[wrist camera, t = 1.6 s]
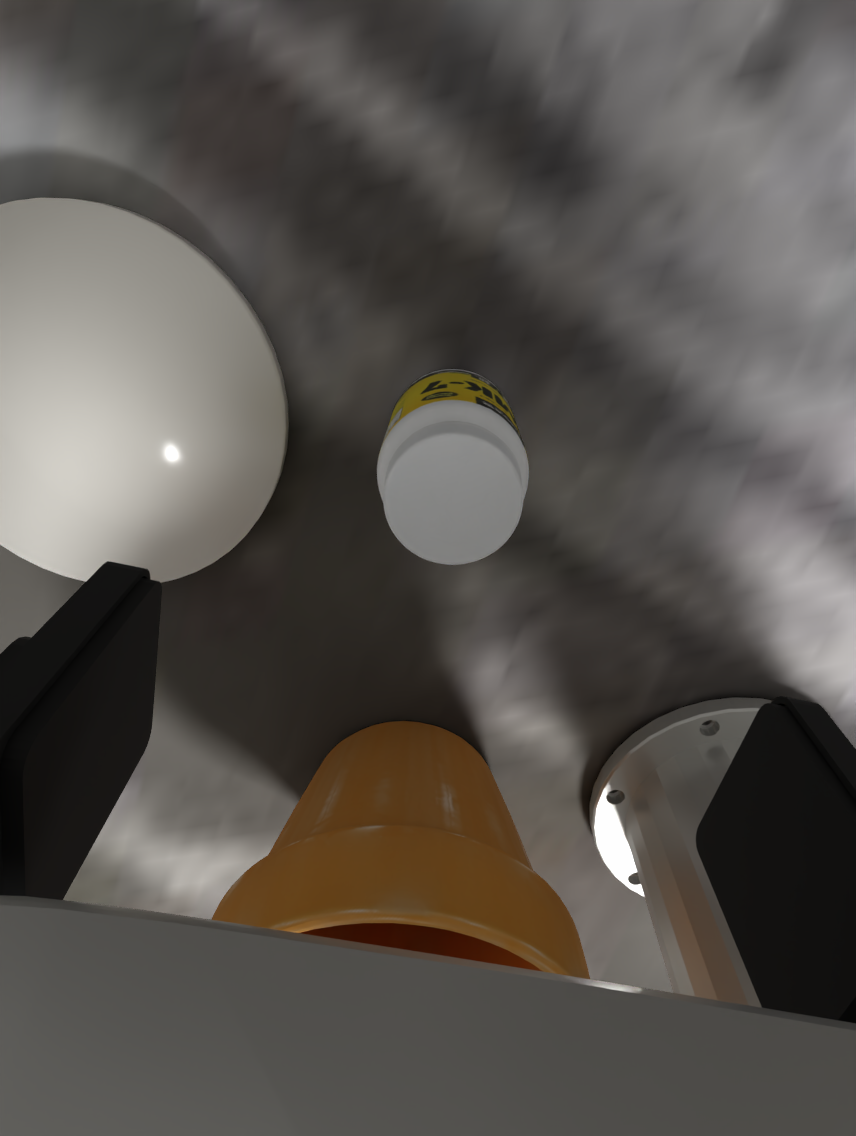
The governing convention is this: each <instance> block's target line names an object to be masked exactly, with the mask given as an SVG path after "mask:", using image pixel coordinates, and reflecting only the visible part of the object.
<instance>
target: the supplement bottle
mask: <svg viewBox="0 0 856 1136" xmlns="http://www.w3.org/2000/svg"><path fill="white" fill-rule="evenodd" d="M528 480H529V464H528V458H527V453H526V450H525V447H524V444H523V441H522V439H521V436H520V433H519V430H518V427H517V424H516V422H515V419H514V415H513V413H512V410H511V408H510V406H509V404H508V402H507V400H506V398H505V397H504V395H503V394H502V393H501V391H500V390H499V389H498V388H497V387H496V386H495V385H494V384H493V383H492V382H490V381H489V380H487V379H486V378H484V377H482V376H481V375H478V374H476V373H473V372H470V371H465V370H459V369H445V370H439V371H434V372H431V373H429V374H426V375H424V376H422V377H421V378H419V379H418V380H416V381H415V382H413V383H412V384H411V385H410V386H409V387H408V388H407V389H406V390H405V391H404V392H403V394H402V395H401V396H400V398H399V400H398V401H397V403H396V405H395V407H394V410H393V413H392V416H391V419H390V422H389V425H388V428H387V431H386V434H385V437H384V440H383V444H382V446H381V450H380V453H379V457H378V463H377V481H378V488H379V492H380V495H381V498H382V501H383V504H384V511H385V516H386V519H387V522H388V524H389V526H390V528H391V530H392V532H393V533H394V535H395V536H396V538H397V539H398V540H399V541H400V542H401V543H402V544H403V545H404V546H405V547H406V548H407V549H408V550H410V551H411V552H412V553H414V554H416V555H417V556H419V557H421V558H423V559H425V560H428V561H431V562H435V563H439V564H446V565H460V564H467V563H471V562H475V561H478V560H480V559H483V558H485V557H487V556H489V555H490V554H492V553H494V552H495V551H497V550H498V549H499V548H500V547H501V546H502V545H504V543H505V542H506V541H507V540H508V539H509V538H510V536H511V535H512V534H513V532H514V530H515V528H516V527H517V525H518V522H519V520H520V517H521V513H522V508H523V500H524V498H525V495H526V491H527V487H528Z"/></svg>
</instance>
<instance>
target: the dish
mask: <svg viewBox="0 0 856 1136" xmlns="http://www.w3.org/2000/svg"><path fill="white" fill-rule="evenodd" d="M288 431H289V417H288V400H287V395H286V390H285V384H284V379H283V375H282V372H281V368H280V365H279V362H278V359H277V356H276V353H275V350H274V348H273V346H272V343H271V341H270V339H269V337H268V335H267V332H266V330H265V328H264V326H263V324H262V323H261V321H260V319H259V318H258V316H257V314H256V313H255V311H254V310H253V308H252V306H251V305H250V303H249V302H248V300H247V299H246V298H245V296H244V295H243V294H242V293H241V291H240V290H239V289H238V287H237V286H236V285H235V284H234V282H233V281H232V280H231V279H230V278H229V277H228V276H227V275H226V274H225V273H224V272H223V271H222V270H221V269H220V268H219V267H218V266H217V265H216V264H215V263H214V262H213V260H212V259H210V258H209V257H208V256H207V255H205V254H204V253H203V252H202V251H200V250H199V249H198V248H197V247H195V246H194V245H193V244H192V243H190V242H189V241H188V240H186V239H185V238H183V237H181V236H180V235H178V234H177V233H175V232H173V231H172V230H170V229H169V228H167V227H165V226H164V225H162V224H160V223H158V222H155V221H153V220H151V219H149V218H147V217H145V216H142V215H140V214H138V213H135V212H132V211H129V210H126V209H123V208H120V207H116V206H113V205H110V204H105V203H99V202H93V201H87V200H81V199H69V198H32V199H24V200H16V201H11V202H7V203H4V204H0V545H2V546H3V547H5V548H6V549H8V550H10V551H11V552H13V553H14V554H16V555H17V556H19V557H21V558H23V559H25V560H27V561H29V562H31V563H33V564H35V565H37V566H39V567H41V568H44V569H47V570H49V571H52V572H54V573H57V574H60V575H62V576H66V577H70V578H73V579H77V580H81V581H85V582H86V581H87V580H88V579H89V578H90V577H91V576H92V575H93V574H94V573H95V572H96V571H97V570H98V569H99V568H100V567H101V566H102V565H103V564H104V563H105V562H107V561H111V562H116V563H121V564H125V565H130V566H135V567H140V568H145V569H148V570H149V572H150V580H155V581H160V583H161V582H166V581H171V580H175V579H178V578H181V577H184V576H186V575H189V574H192V573H195V572H197V571H199V570H201V569H203V568H204V567H206V566H208V565H210V564H212V563H214V562H215V561H217V560H218V559H219V558H221V557H222V556H224V555H225V554H226V553H228V552H229V551H231V550H232V549H233V548H234V547H235V546H236V545H237V544H238V543H239V542H240V541H241V540H242V539H243V538H244V537H245V536H246V535H247V534H248V532H249V531H250V530H251V528H252V527H253V526H254V524H255V523H256V522H257V520H258V519H259V518H260V516H261V514H262V513H263V511H264V510H265V508H266V506H267V504H268V502H269V501H270V499H271V497H272V495H273V493H274V492H275V489H276V486H277V484H278V481H279V478H280V476H281V473H282V470H283V466H284V461H285V456H286V452H287V444H288Z"/></svg>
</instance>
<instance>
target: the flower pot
mask: <svg viewBox="0 0 856 1136" xmlns="http://www.w3.org/2000/svg"><path fill="white" fill-rule="evenodd" d="M212 920H217V921H223V922H230V923H237V924H243V925H250V926H256V927H263V928H269V929H276V930H282V931H288V932H295V933H301V934H308V935H314V936H321V937H327V938H333V939H340V940H346V941H353V942H359V943H366V944H372V945H378V946H385V947H391V948H398V949H404V950H411V951H417V952H423V953H430V954H436V955H442V956H449V957H455V958H461V959H467V960H474V961H480V962H486V963H492V964H498V965H505V966H511V967H517V968H523V969H530V970H536V971H542V972H548V973H554V974H561V975H567V976H573V977H579V978H585V979H590V977H589V972H588V968H587V964H586V960H585V957H584V953H583V949H582V946H581V942H580V938H579V935H578V932H577V929H576V927H575V924H574V921H573V919H572V917H571V915H570V914H569V912H568V910H567V908H566V907H565V905H564V903H563V902H562V900H561V899H560V897H559V896H558V895H557V894H556V892H555V891H554V890H553V889H552V888H551V887H550V886H549V885H548V883H547V882H546V881H545V880H543V879H542V878H541V877H540V876H539V875H538V874H536V873H535V872H534V871H533V869H532V867H531V864H530V862H529V859H528V857H527V854H526V852H525V849H524V847H523V844H522V842H521V839H520V837H519V835H518V832H517V830H516V827H515V825H514V822H513V820H512V818H511V815H510V813H509V811H508V809H507V806H506V804H505V802H504V800H503V798H502V795H501V793H500V791H499V789H498V786H497V784H496V782H495V779H494V777H493V775H492V773H491V771H490V769H489V767H488V765H487V764H486V762H485V761H484V759H483V758H482V756H481V755H480V754H479V753H478V752H477V751H476V750H475V749H474V748H473V747H472V746H471V745H470V744H469V743H467V742H466V741H465V740H464V739H462V738H461V737H459V736H457V735H456V734H454V733H452V732H450V731H448V730H445V729H443V728H440V727H437V726H434V725H430V724H425V723H420V722H412V721H393V722H386V723H381V724H377V725H373V726H370V727H367V728H365V729H362V730H360V731H358V732H356V733H354V734H353V735H351V736H349V737H347V738H346V739H344V740H343V741H341V742H340V743H338V744H337V745H336V746H335V747H334V748H333V749H332V750H331V751H330V752H329V753H328V755H327V756H326V757H325V759H324V760H323V762H322V764H321V765H320V767H319V768H318V770H317V772H316V773H315V775H314V777H313V778H312V780H311V782H310V783H309V785H308V787H307V789H306V790H305V792H304V794H303V795H302V797H301V799H300V800H299V802H298V804H297V805H296V807H295V809H294V811H293V812H292V814H291V816H290V818H289V819H288V821H287V823H286V825H285V826H284V828H283V830H282V832H281V834H280V835H279V837H278V839H277V841H276V842H275V844H274V846H273V848H272V850H271V851H270V853H269V855H268V856H266V857H265V858H263V859H262V860H260V861H259V862H257V863H256V864H255V865H253V866H252V867H251V868H250V869H248V870H247V871H246V872H245V873H244V874H243V875H242V876H241V877H240V878H239V879H238V880H237V881H236V882H235V883H234V884H233V885H232V886H231V888H230V889H229V890H228V892H227V893H226V894H225V896H224V897H223V899H222V900H221V902H220V904H219V906H218V908H217V909H216V911H215V913H214V915H213V917H212Z"/></svg>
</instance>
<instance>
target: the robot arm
mask: <svg viewBox="0 0 856 1136" xmlns="http://www.w3.org/2000/svg"><path fill="white" fill-rule="evenodd" d="M161 594H162V586H161V583H160V581H155V580H150V572H149V570H148V569H145V568H140V567H135V566H130V565H125V564H121V563H116V562H111V561H107V562H105V563H104V564H103V565H102V566H101V567H100V568H99V569H98V570H97V571H96V572H95V573H94V574H93V575H92V576H91V577H90V578H89V579H88V580H87V581H86V582H85V583H84V584H83V585H82V586H81V588H80V589H79V590H78V591H77V592H76V593H75V594H74V595H73V596H72V597H71V598H70V599H69V600H68V601H67V602H66V603H65V604H64V605H63V606H62V607H61V608H60V609H59V610H58V611H57V612H56V613H55V614H54V615H53V616H52V617H51V618H50V619H49V620H48V621H47V622H46V623H45V624H44V626H43V627H42V628H41V629H40V630H39V631H38V632H37V633H36V634H35V635H34V636H33V637H32V638H30V637H21V638H18V639H17V640H15V641H14V642H13V643H11V644H10V645H9V646H8V647H7V648H6V649H5V650H4V651H3V652H2V653H1V654H0V1136H856V749H855V748H854V747H853V745H852V744H851V743H850V742H849V740H848V739H847V738H846V737H845V735H844V734H843V733H842V731H841V730H840V729H839V728H838V726H837V725H836V724H835V723H834V721H833V720H832V719H831V718H830V716H829V715H828V714H827V713H826V711H825V710H824V709H823V708H822V707H821V706H820V705H819V704H816V703H812V702H807V701H802V700H797V699H792V698H787V697H782V696H781V697H777V698H776V699H774V700H773V701H771V700H767V699H762V698H738V697H733V698H725V699H716V700H708V701H704V702H700V703H697V704H693V705H689V706H686V707H682V708H679V709H677V710H675V711H672V712H670V713H668V714H666V715H663V716H661V717H659V718H657V719H655V720H653V721H652V722H650V723H649V724H647V725H645V726H644V727H642V728H641V729H639V730H638V731H636V732H635V733H633V734H632V735H631V736H630V737H629V738H628V739H627V740H626V741H625V742H623V743H622V744H621V745H620V746H619V747H618V748H617V749H616V750H615V751H614V753H613V754H612V755H611V757H610V758H609V759H608V761H607V762H606V763H605V765H604V766H603V767H602V769H601V771H600V774H599V776H598V778H597V780H596V782H595V784H594V786H593V791H592V795H591V800H590V804H589V809H590V826H591V830H592V834H593V838H594V843H595V846H596V848H597V850H598V853H599V855H600V857H601V860H602V862H603V863H604V864H605V865H606V867H607V868H608V869H609V871H610V872H611V873H612V875H613V876H614V877H615V878H616V879H618V880H619V881H620V882H621V883H622V884H623V885H624V886H626V887H627V888H629V889H631V890H632V891H634V892H636V893H638V894H640V895H641V896H643V897H645V900H646V903H647V906H648V910H649V913H650V916H651V919H652V923H653V926H654V929H655V933H656V936H657V939H658V943H659V946H660V949H661V953H662V956H663V959H664V963H665V966H666V969H667V973H668V976H669V979H670V982H671V986H672V989H673V992H674V993H671V992H665V991H659V990H653V989H647V988H640V987H634V986H628V985H622V984H616V983H610V982H604V981H597V980H591V979H585V978H579V977H573V976H567V975H561V974H554V973H548V972H542V971H536V970H530V969H523V968H517V967H511V966H505V965H498V964H492V963H486V962H480V961H474V960H467V959H461V958H455V957H449V956H442V955H436V954H430V953H423V952H417V951H411V950H404V949H398V948H391V947H385V946H378V945H372V944H366V943H359V942H353V941H346V940H340V939H333V938H327V937H321V936H314V935H308V934H301V933H295V932H288V931H282V930H276V929H269V928H263V927H256V926H250V925H243V924H237V923H230V922H223V921H217V920H210V919H203V918H196V917H189V916H182V915H175V914H168V913H161V912H154V911H147V910H140V909H132V908H124V907H117V906H109V905H101V904H93V903H84V902H75V901H65V900H63V898H64V896H65V895H66V893H67V891H68V889H69V887H70V886H71V884H72V882H73V880H74V878H75V877H76V875H77V873H78V871H79V869H80V867H81V866H82V864H83V862H84V860H85V858H86V857H87V855H88V853H89V851H90V849H91V848H92V846H93V844H94V842H95V840H96V838H97V837H98V835H99V833H100V831H101V829H102V828H103V826H104V824H105V822H106V820H107V819H108V817H109V815H110V813H111V811H112V809H113V808H114V806H115V804H116V802H117V800H118V799H119V797H120V795H121V793H122V791H123V790H124V788H125V786H126V784H127V782H128V781H129V779H130V777H131V775H132V773H133V771H134V770H135V768H136V766H137V764H138V762H139V761H140V759H141V757H142V755H143V753H144V751H145V749H146V747H147V744H148V741H149V738H150V734H151V729H152V718H153V704H154V690H155V676H156V663H157V649H158V635H159V621H160V608H161Z"/></svg>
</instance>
